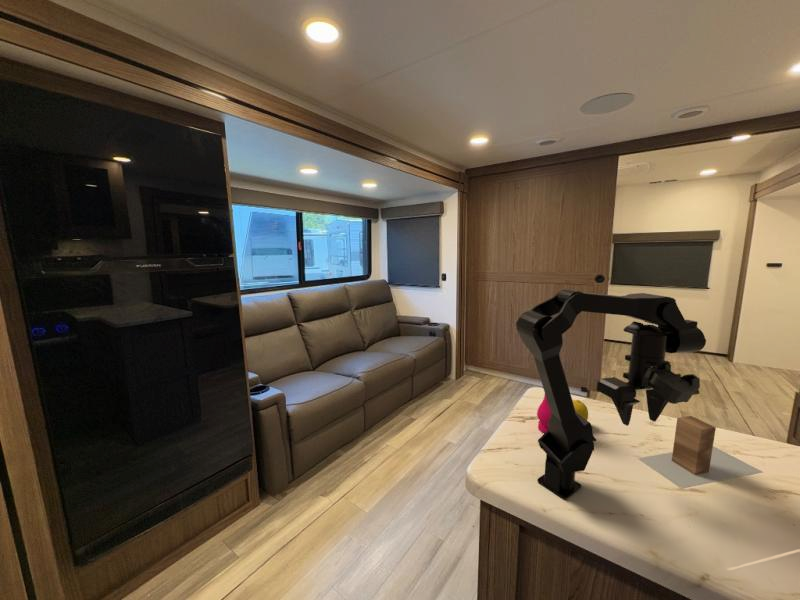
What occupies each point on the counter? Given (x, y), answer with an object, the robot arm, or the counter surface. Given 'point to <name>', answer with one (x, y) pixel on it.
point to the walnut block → (693, 444)
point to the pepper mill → (544, 415)
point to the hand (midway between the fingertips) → (639, 422)
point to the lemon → (581, 409)
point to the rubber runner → (719, 470)
